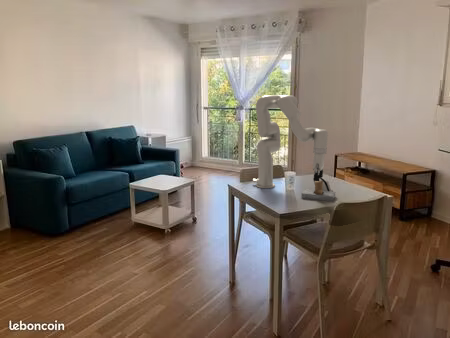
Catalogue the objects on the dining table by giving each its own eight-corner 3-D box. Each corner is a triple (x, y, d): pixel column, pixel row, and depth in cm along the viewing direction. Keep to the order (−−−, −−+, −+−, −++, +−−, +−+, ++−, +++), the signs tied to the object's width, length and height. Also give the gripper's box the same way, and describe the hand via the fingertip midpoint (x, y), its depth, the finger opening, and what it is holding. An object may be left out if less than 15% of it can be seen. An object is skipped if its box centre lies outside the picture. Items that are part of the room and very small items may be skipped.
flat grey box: (301, 198, 222) (301, 193, 222) (305, 193, 231) (305, 189, 231) (332, 201, 215) (332, 196, 214) (335, 196, 224) (335, 191, 223)
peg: (314, 198, 222) (315, 181, 220) (315, 196, 226) (316, 180, 223) (321, 198, 220) (322, 182, 218) (322, 196, 224) (323, 180, 222)
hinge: (334, 193, 232) (329, 178, 229) (327, 196, 231) (322, 181, 228) (322, 186, 248) (317, 172, 245) (315, 189, 247) (311, 175, 244)
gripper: (316, 147, 226) (314, 175, 230) (310, 152, 211) (308, 181, 215) (329, 148, 223) (327, 176, 227) (323, 153, 208) (321, 183, 212)
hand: (318, 179), depth 221 cm, fingers open, 9 cm apart
